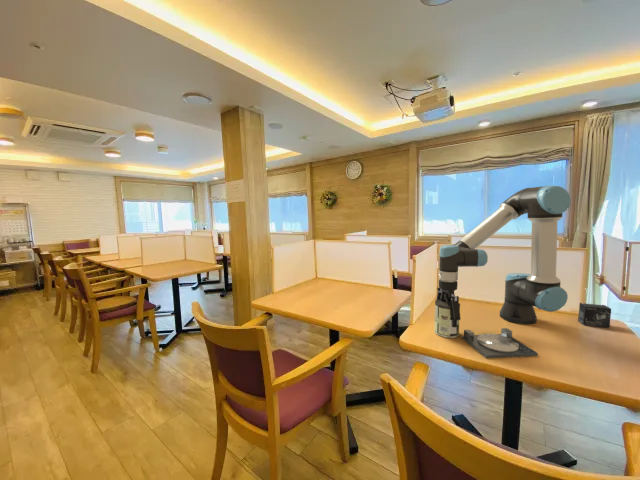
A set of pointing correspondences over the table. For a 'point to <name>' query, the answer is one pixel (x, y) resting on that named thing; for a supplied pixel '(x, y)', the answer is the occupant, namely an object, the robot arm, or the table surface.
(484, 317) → the table surface
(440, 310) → the coffee can
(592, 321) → the box
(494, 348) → the flange plate
